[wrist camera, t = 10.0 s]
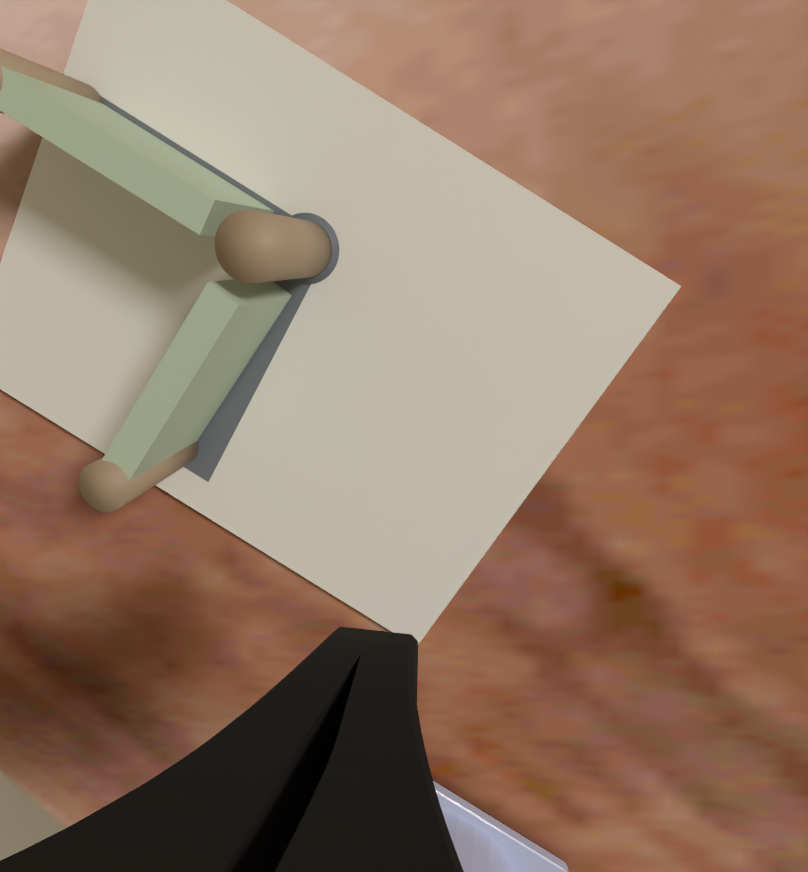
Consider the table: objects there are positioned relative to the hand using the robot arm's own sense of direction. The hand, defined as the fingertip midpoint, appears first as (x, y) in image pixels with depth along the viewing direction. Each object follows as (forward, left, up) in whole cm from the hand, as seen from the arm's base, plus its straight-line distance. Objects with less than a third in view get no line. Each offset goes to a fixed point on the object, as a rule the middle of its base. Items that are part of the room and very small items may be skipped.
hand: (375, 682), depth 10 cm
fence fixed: (+4, +11, -10) cm, 15 cm away
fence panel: (-1, +7, -9) cm, 12 cm away
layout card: (+1, +7, -10) cm, 12 cm away
